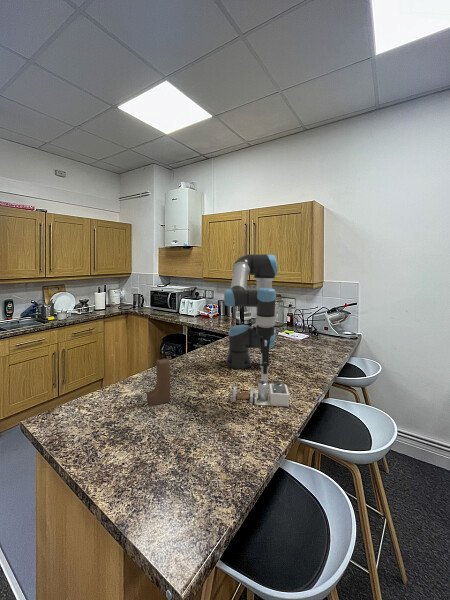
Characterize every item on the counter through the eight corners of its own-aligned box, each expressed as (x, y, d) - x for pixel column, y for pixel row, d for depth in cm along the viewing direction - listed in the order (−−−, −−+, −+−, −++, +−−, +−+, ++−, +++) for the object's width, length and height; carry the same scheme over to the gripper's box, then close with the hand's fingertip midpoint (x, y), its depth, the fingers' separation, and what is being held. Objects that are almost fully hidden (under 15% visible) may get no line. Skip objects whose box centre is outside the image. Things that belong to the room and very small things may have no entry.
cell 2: (273, 397, 123) (273, 379, 122) (283, 397, 123) (283, 380, 122) (273, 402, 119) (274, 384, 118) (284, 402, 118) (285, 384, 117)
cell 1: (257, 396, 124) (258, 379, 123) (267, 397, 123) (268, 379, 122) (257, 401, 119) (257, 383, 118) (267, 401, 119) (268, 383, 118)
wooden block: (149, 407, 116) (148, 365, 114) (146, 402, 120) (145, 361, 118) (170, 401, 121) (169, 361, 119) (166, 397, 125) (166, 358, 123)
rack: (254, 396, 127) (254, 382, 126) (285, 398, 126) (286, 384, 125) (254, 407, 117) (254, 392, 116) (288, 409, 116) (289, 394, 115)
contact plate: (236, 397, 125) (237, 392, 125) (249, 398, 125) (249, 392, 124) (236, 400, 122) (236, 395, 122) (249, 401, 121) (249, 396, 121)
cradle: (233, 394, 128) (233, 386, 128) (252, 395, 127) (252, 387, 127) (232, 404, 119) (232, 395, 119) (252, 405, 119) (253, 396, 118)
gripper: (255, 318, 130) (254, 362, 133) (256, 333, 105) (255, 386, 109) (272, 319, 129) (270, 363, 132) (277, 333, 105) (275, 387, 108)
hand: (263, 373), depth 120 cm, fingers open, 13 cm apart
